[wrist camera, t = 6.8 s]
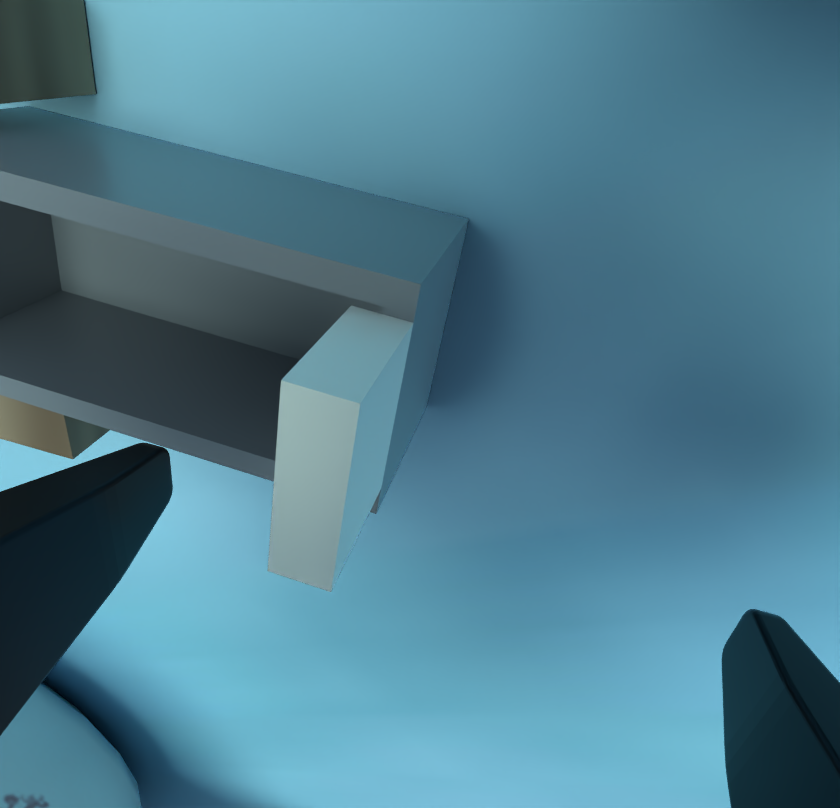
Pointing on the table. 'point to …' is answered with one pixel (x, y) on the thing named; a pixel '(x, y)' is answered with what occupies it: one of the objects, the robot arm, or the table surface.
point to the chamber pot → (61, 760)
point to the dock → (35, 80)
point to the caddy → (223, 316)
